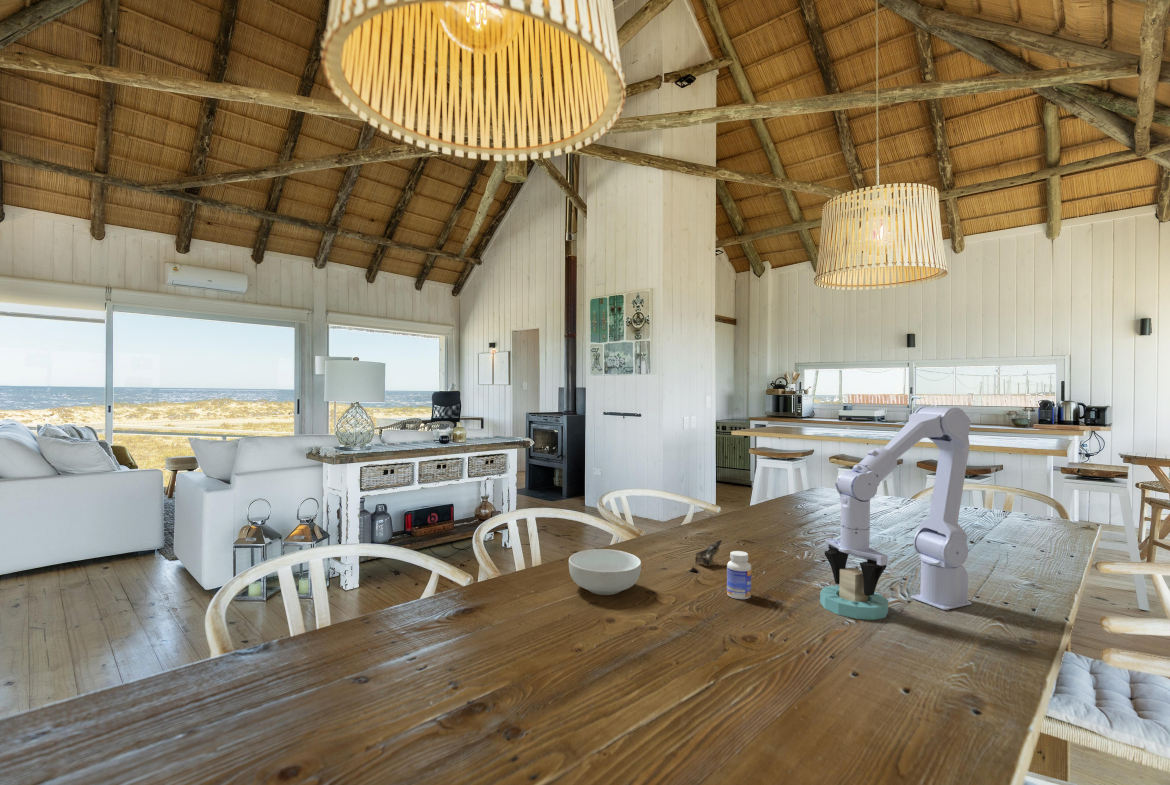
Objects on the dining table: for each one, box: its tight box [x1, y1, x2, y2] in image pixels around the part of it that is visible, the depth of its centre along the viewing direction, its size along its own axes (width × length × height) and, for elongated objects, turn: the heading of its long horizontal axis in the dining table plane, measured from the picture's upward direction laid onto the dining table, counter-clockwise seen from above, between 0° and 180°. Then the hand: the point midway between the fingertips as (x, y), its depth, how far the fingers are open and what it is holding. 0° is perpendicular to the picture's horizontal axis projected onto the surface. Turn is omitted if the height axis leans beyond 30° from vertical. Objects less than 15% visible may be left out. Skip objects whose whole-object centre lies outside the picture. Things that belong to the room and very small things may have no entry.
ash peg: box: [839, 566, 868, 602], centre depth 122 cm, size 4×4×8 cm
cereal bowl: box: [568, 548, 642, 596], centre depth 131 cm, size 17×17×7 cm
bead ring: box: [819, 584, 889, 621], centre depth 122 cm, size 13×13×2 cm
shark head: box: [695, 539, 723, 567], centre depth 151 cm, size 8×6×7 cm
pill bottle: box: [726, 550, 752, 600], centre depth 128 cm, size 5×5×10 cm
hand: (853, 588), depth 122 cm, fingers open, 7 cm apart
